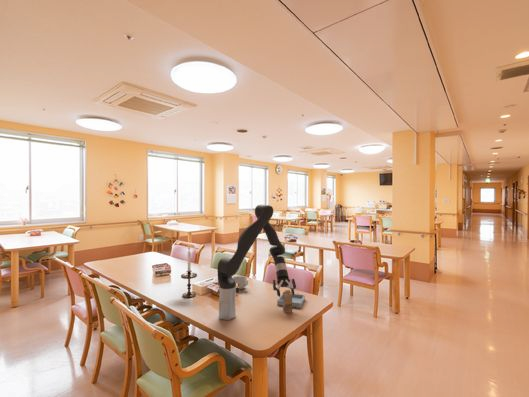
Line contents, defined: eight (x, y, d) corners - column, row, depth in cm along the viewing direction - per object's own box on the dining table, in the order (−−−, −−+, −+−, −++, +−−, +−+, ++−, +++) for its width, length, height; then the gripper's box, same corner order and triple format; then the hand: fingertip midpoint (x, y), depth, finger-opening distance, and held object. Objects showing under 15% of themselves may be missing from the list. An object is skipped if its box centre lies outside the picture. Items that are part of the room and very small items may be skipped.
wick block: (292, 312, 157) (292, 291, 157) (284, 313, 156) (284, 291, 156) (290, 309, 161) (290, 288, 161) (283, 310, 161) (283, 289, 161)
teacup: (229, 287, 200) (229, 277, 200) (241, 284, 207) (241, 274, 207) (240, 292, 190) (240, 281, 190) (252, 289, 197) (252, 278, 197)
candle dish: (300, 308, 163) (300, 303, 163) (277, 304, 168) (277, 300, 168) (305, 299, 177) (305, 294, 177) (283, 296, 182) (283, 292, 182)
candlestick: (192, 299, 178) (192, 247, 177) (177, 297, 180) (177, 246, 180) (199, 293, 188) (199, 244, 188) (185, 292, 190) (185, 243, 190)
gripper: (271, 269, 169) (276, 293, 157) (293, 268, 171) (298, 292, 160) (270, 275, 174) (274, 299, 163) (290, 274, 177) (296, 297, 165)
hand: (286, 295), depth 161 cm, fingers open, 8 cm apart
